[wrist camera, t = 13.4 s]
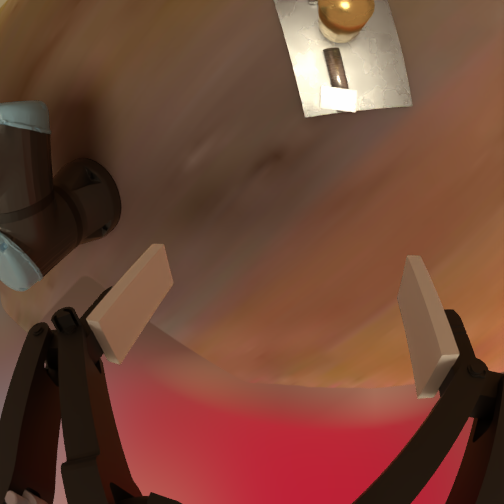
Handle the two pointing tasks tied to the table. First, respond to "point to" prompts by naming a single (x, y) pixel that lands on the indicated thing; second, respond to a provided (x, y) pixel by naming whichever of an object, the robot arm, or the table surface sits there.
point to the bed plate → (344, 62)
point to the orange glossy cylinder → (343, 18)
